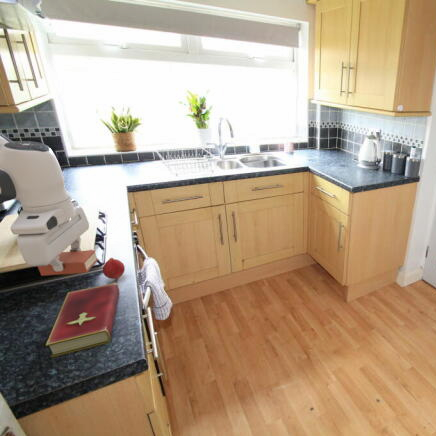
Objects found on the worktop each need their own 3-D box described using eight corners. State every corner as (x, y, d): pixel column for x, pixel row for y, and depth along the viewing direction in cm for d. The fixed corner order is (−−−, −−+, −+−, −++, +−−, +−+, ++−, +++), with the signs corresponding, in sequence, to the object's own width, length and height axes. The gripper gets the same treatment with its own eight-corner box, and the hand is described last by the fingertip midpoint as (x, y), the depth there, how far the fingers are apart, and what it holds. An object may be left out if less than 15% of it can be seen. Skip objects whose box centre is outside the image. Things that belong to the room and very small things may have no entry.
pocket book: (41, 275, 78) (37, 265, 76) (56, 262, 83) (52, 252, 82) (86, 272, 79) (83, 262, 78) (98, 259, 85) (95, 250, 84)
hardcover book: (120, 293, 96) (117, 281, 95) (111, 341, 79) (107, 329, 77) (72, 303, 92) (67, 291, 90) (51, 357, 74) (45, 344, 73)
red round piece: (102, 284, 100) (96, 263, 97) (110, 274, 105) (104, 253, 102) (123, 283, 101) (117, 261, 98) (129, 273, 106) (124, 252, 103)
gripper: (61, 196, 84) (76, 242, 89) (3, 231, 65) (28, 286, 71) (87, 195, 85) (101, 241, 90) (38, 229, 66) (59, 284, 72)
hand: (68, 261), depth 81 cm, fingers closed on pocket book, 6 cm apart
